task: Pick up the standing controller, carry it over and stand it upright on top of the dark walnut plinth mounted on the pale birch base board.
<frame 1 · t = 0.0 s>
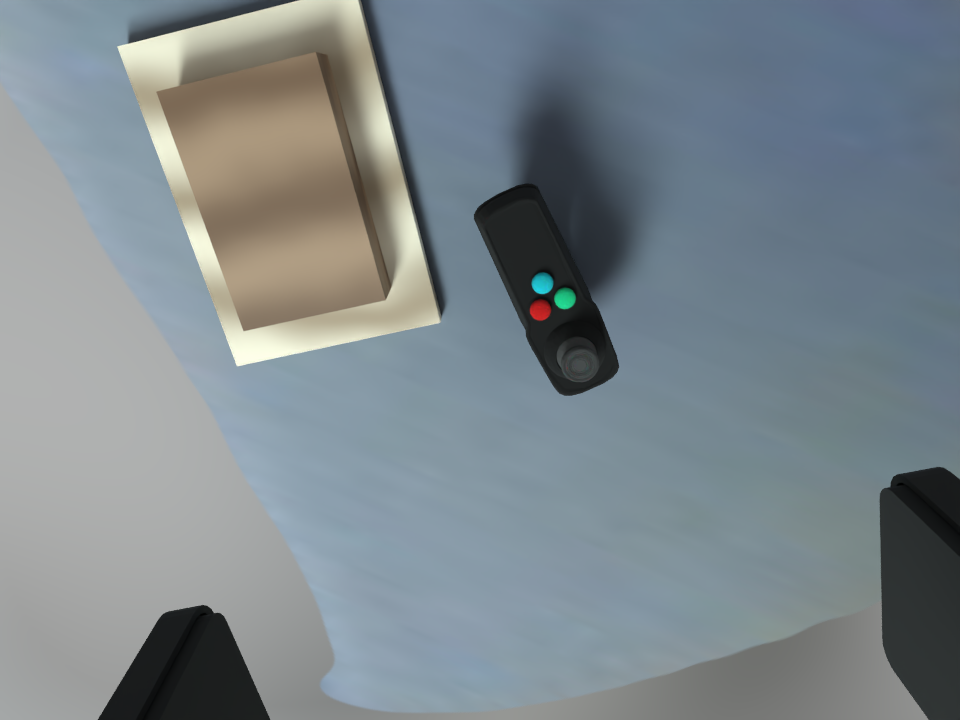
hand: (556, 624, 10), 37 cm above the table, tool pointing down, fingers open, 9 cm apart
controller: (538, 265, 46), on the table
base board: (295, 191, 44), on the table
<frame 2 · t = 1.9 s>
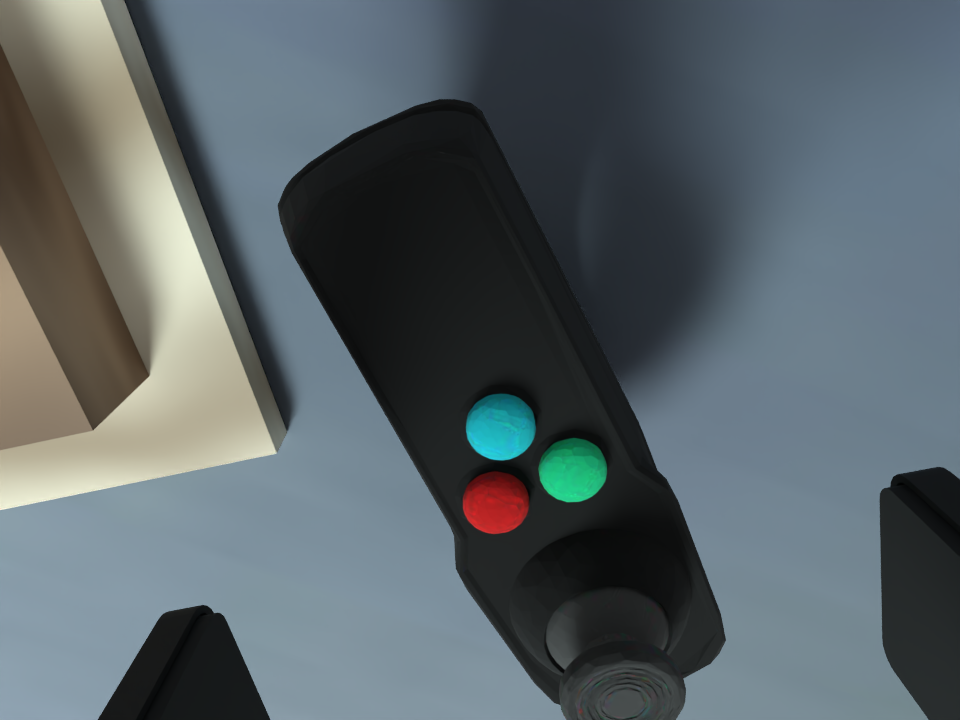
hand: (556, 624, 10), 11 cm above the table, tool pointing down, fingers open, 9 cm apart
controller: (505, 317, 19), on the table
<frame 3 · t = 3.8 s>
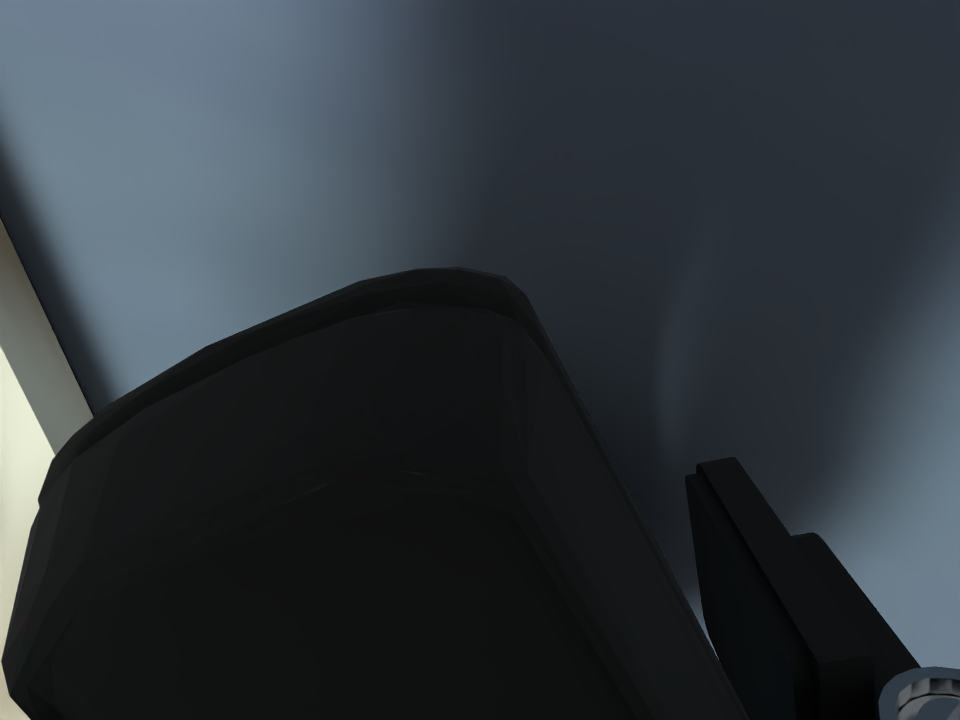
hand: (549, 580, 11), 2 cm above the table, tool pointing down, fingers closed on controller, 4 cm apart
controller: (538, 505, 13), on the table, touching gripper
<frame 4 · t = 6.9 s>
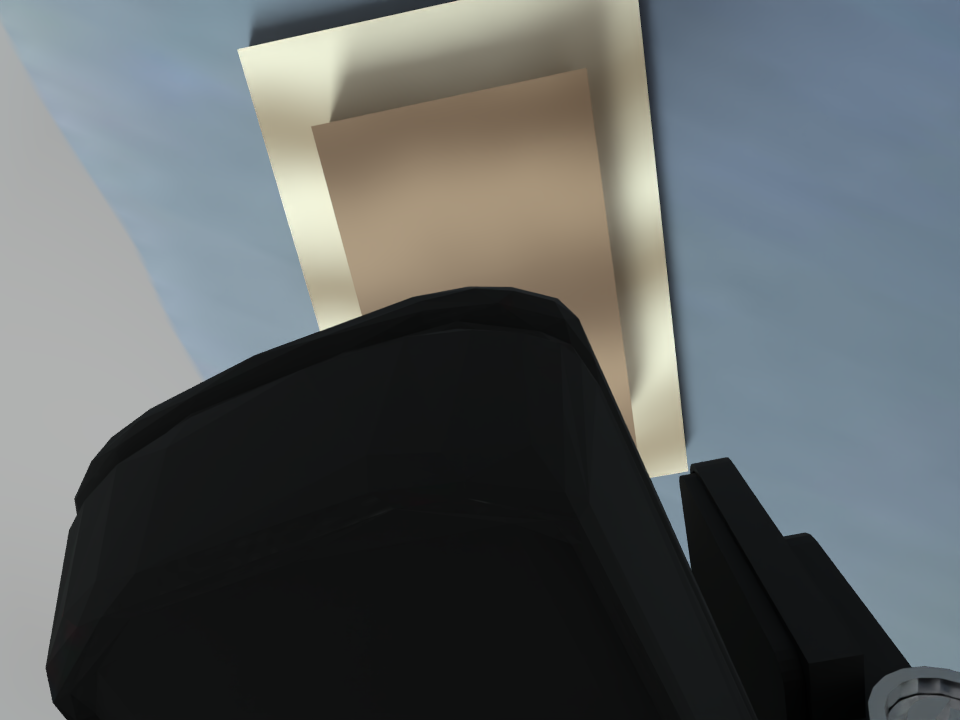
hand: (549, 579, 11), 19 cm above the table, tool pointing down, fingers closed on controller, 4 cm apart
controller: (543, 509, 13), point 17 cm above the table, touching gripper
base board: (487, 276, 29), on the table
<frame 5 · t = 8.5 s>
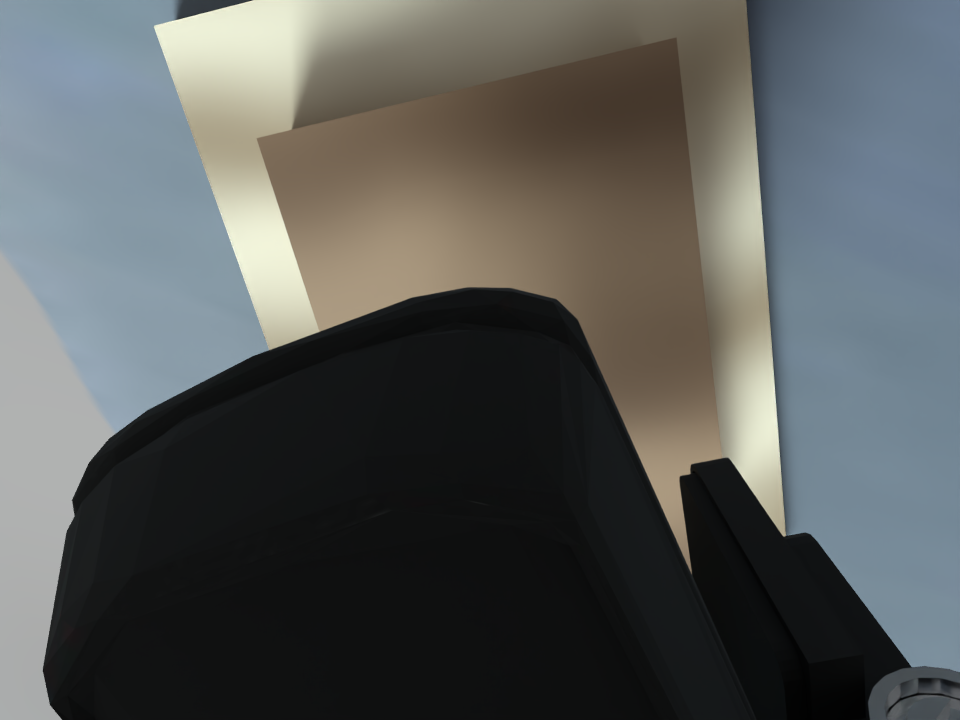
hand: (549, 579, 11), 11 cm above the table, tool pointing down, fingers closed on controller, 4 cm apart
controller: (542, 509, 13), point 9 cm above the table, touching gripper
base board: (517, 331, 21), on the table
when the fingers open (7 cm above the table, at t = 10.0 s): controller drops 1 cm, resting on base board.
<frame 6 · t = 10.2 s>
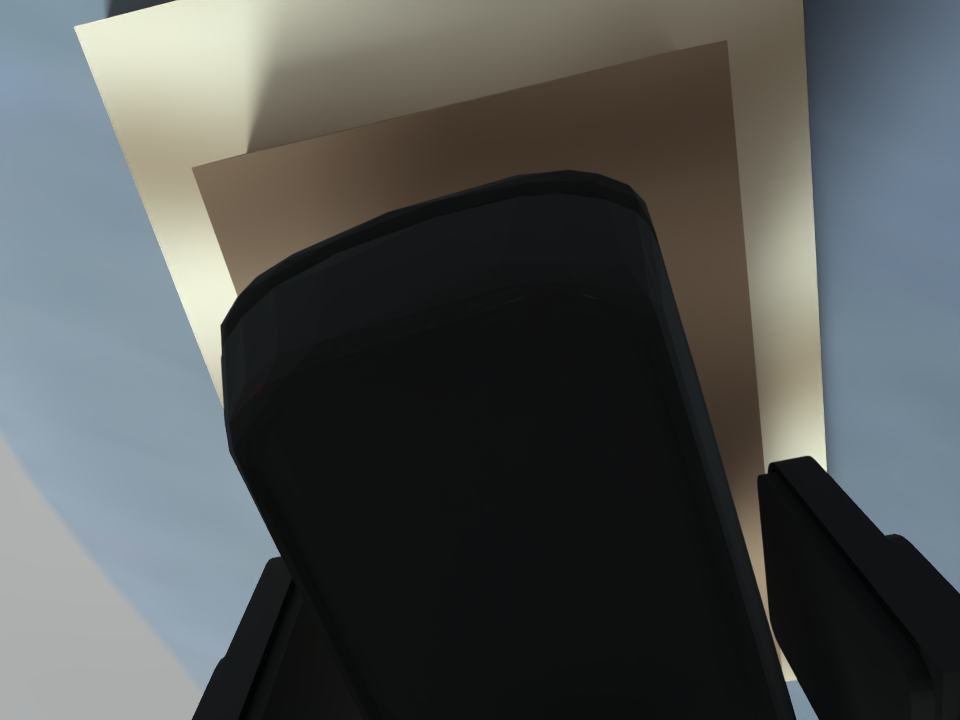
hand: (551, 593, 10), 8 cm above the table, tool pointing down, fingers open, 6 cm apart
controller: (544, 453, 14), point 4 cm above the table, touching base board
base board: (520, 387, 18), on the table
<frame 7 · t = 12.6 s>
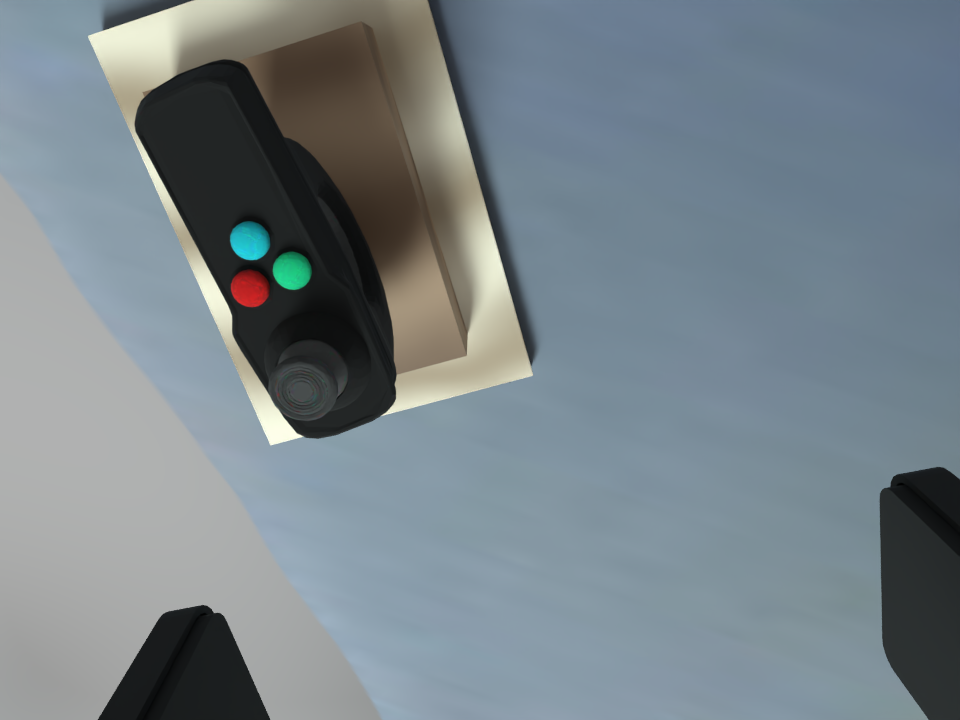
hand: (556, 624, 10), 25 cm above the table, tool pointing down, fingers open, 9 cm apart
controller: (321, 224, 29), point 4 cm above the table, touching base board
base board: (334, 216, 33), on the table
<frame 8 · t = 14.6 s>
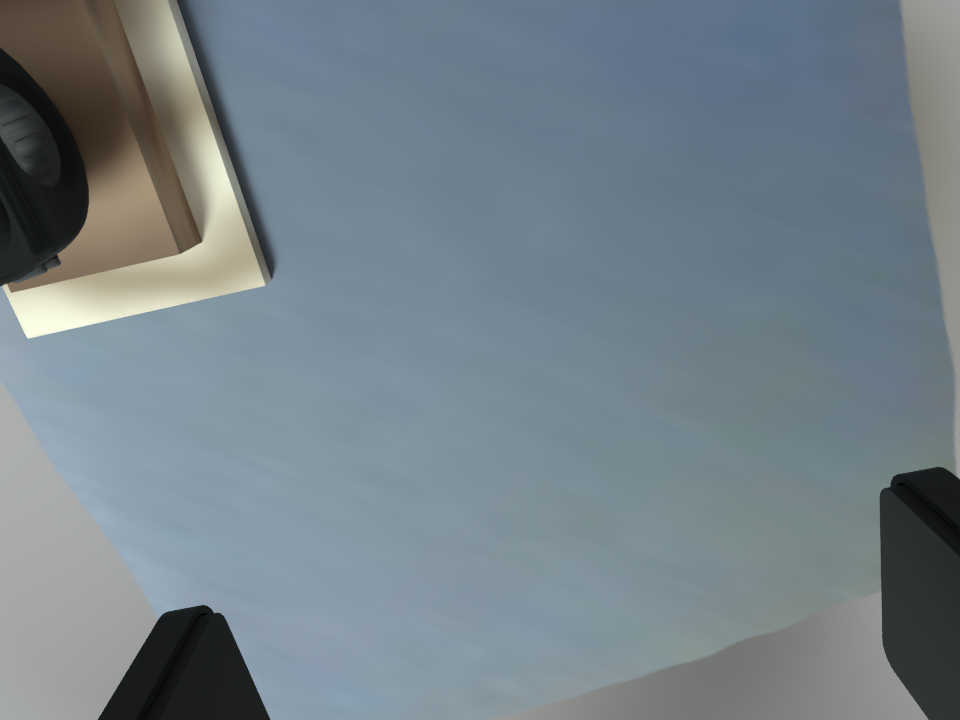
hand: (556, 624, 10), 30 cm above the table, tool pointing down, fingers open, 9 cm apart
controller: (38, 122, 32), point 4 cm above the table, touching base board
base board: (80, 125, 36), on the table
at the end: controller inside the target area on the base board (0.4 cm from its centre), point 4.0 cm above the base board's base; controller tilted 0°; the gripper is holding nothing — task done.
